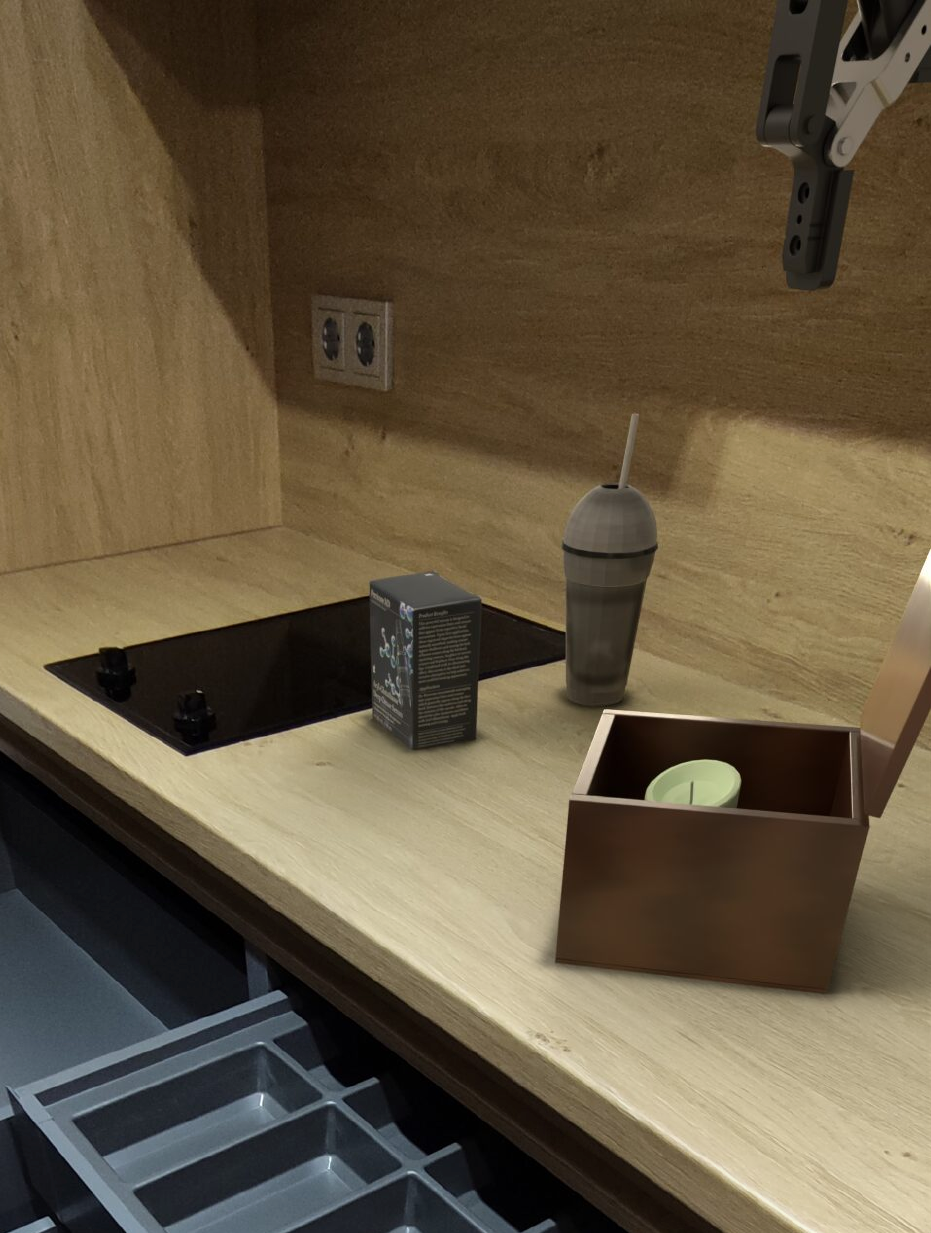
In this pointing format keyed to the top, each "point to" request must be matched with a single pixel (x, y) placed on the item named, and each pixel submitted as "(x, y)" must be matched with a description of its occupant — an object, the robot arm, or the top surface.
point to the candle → (697, 784)
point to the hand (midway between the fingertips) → (888, 281)
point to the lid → (898, 700)
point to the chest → (714, 852)
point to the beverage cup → (606, 584)
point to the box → (424, 659)
